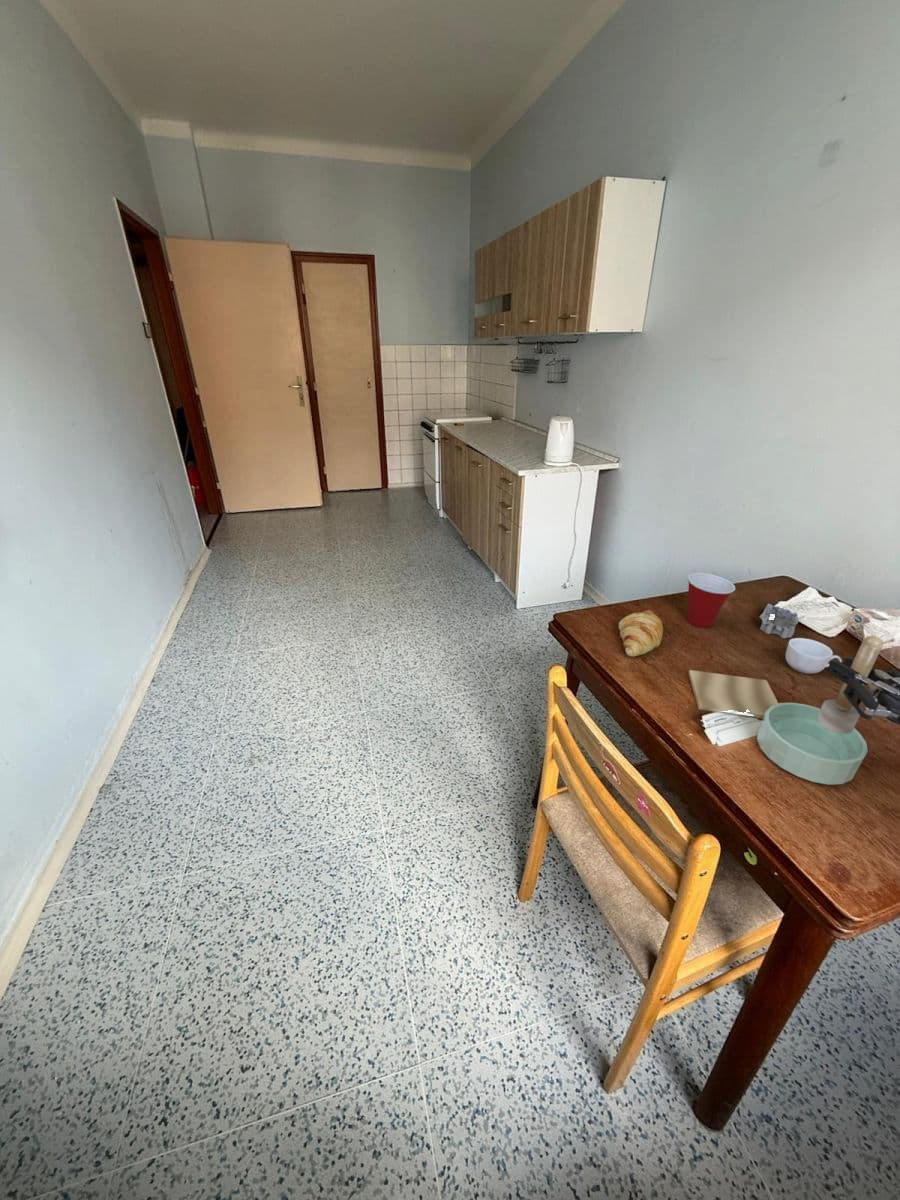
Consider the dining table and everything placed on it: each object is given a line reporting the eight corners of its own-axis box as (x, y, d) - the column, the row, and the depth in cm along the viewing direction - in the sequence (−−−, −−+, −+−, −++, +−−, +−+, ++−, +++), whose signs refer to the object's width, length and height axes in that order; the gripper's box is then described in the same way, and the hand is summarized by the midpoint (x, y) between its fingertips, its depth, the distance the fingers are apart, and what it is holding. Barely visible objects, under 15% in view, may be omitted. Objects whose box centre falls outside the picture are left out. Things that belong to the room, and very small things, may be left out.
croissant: (640, 676, 108) (663, 655, 103) (603, 649, 110) (624, 627, 105) (656, 631, 124) (677, 611, 119) (624, 608, 126) (643, 588, 120)
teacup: (784, 673, 103) (792, 652, 100) (778, 654, 109) (786, 634, 106) (839, 684, 99) (849, 663, 96) (831, 664, 105) (840, 644, 102)
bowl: (832, 732, 87) (844, 709, 84) (871, 795, 75) (885, 770, 72) (746, 719, 90) (755, 697, 88) (770, 777, 78) (780, 753, 76)
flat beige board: (765, 683, 100) (766, 680, 99) (784, 722, 89) (786, 718, 89) (688, 673, 103) (689, 669, 103) (698, 709, 93) (699, 705, 93)
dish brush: (844, 716, 76) (886, 630, 68) (858, 736, 72) (904, 648, 64) (811, 711, 77) (849, 626, 69) (823, 731, 73) (864, 643, 65)
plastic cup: (728, 636, 116) (741, 592, 110) (680, 630, 119) (691, 587, 113) (719, 614, 125) (731, 573, 119) (675, 609, 128) (684, 569, 122)
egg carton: (791, 641, 114) (796, 626, 112) (755, 631, 118) (760, 617, 116) (797, 623, 121) (802, 609, 119) (763, 614, 125) (768, 600, 123)
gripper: (1030, 709, 57) (882, 636, 72) (946, 731, 54) (810, 650, 69) (997, 753, 61) (863, 675, 76) (917, 777, 58) (793, 690, 73)
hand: (838, 663), depth 72 cm, fingers closed on dish brush
